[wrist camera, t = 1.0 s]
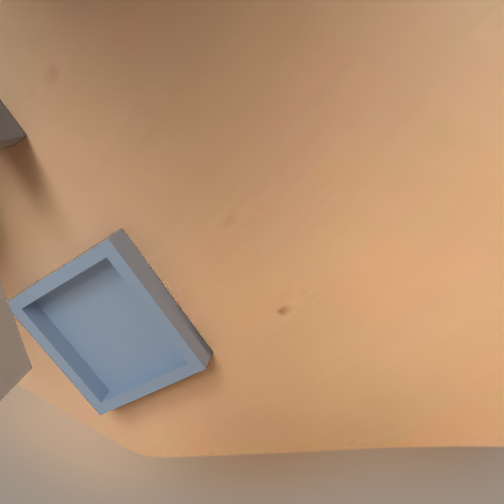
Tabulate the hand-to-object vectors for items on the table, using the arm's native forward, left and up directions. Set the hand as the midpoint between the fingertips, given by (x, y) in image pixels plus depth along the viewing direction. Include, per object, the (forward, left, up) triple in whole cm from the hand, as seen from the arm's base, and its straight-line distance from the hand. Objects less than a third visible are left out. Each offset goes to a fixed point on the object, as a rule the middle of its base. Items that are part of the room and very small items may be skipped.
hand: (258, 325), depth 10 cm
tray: (+5, -24, -25) cm, 35 cm away
